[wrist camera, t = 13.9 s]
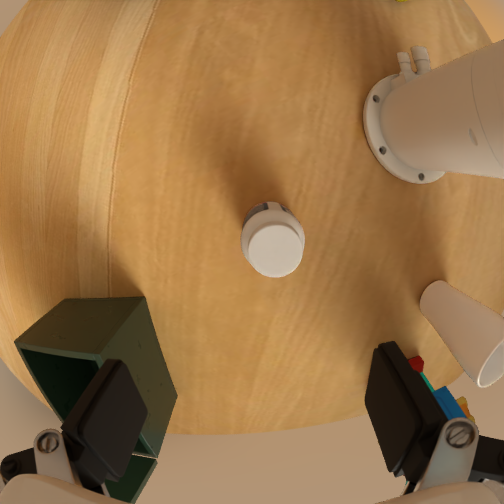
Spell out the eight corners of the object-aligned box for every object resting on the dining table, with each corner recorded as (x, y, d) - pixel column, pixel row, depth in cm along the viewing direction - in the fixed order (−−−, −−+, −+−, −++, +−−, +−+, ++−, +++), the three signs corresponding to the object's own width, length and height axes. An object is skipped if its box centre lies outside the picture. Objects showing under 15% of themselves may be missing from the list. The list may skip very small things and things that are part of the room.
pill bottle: (241, 248, 29) (234, 282, 20) (246, 198, 27) (240, 211, 19) (292, 253, 29) (305, 288, 20) (298, 204, 27) (316, 219, 19)
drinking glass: (417, 276, 29) (492, 340, 15) (455, 270, 29) (530, 323, 15) (409, 323, 31) (467, 397, 17) (446, 315, 31) (507, 377, 17)
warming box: (64, 298, 32) (13, 341, 20) (145, 296, 31) (99, 354, 20) (103, 388, 36) (73, 437, 25) (177, 395, 36) (157, 458, 24)
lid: (-1, 499, 7) (25, 529, 7) (95, 559, 6) (121, 581, 6) (71, 437, 25) (85, 465, 24) (156, 458, 24) (167, 486, 24)
